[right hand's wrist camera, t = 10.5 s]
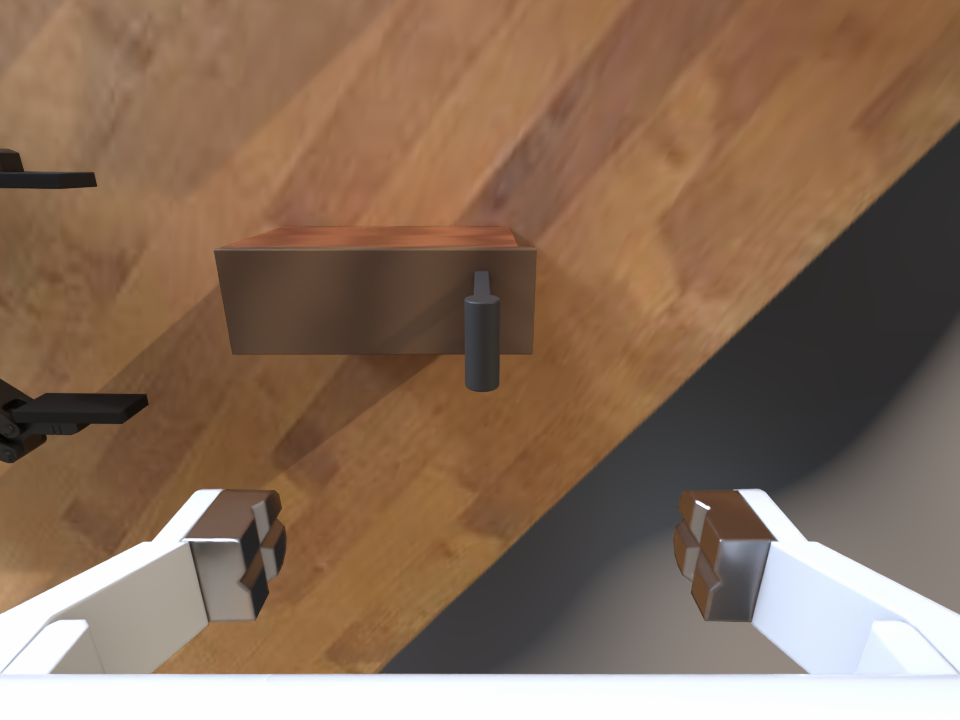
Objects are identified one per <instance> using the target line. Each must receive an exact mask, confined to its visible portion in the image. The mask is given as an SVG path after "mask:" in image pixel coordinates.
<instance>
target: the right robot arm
mask: <svg viewBox="0 0 960 720" xmlns="http://www.w3.org/2000/svg"><path fill="white" fill-rule="evenodd" d="M281 509H282V506H281V502H280V497H279V494H278V493H277V492H276V491H275V490H238V489H226V490H224V489H201V490H198V491H196V492H195V493H194V494H193V495H192V496H191V497H190V498H189V499H188V501H187V502H186V503H185V504H184V505H183V506H182V507H181V509H180V510H179V511H178V512H177V513H176V514H175V516H174V517H173V518H172V519H171V520H170V521H169V522H168V524H167V525H166V526H165V527H164V528H163V529H162V530H161V532H160V533H159V534H158V535H157V536H156V537H155V538H154V540H153V541H152V542H142V543H140V544H138V545H136V546H134V547H132V548H130V549H128V550H126V551H124V552H122V553H120V554H118V555H116V556H115V557H113V558H111V559H109V560H107V561H105V562H103V563H101V564H99V565H97V566H95V567H93V568H91V569H89V570H87V571H85V572H83V573H81V574H79V575H77V576H75V577H73V578H71V579H69V580H67V581H65V582H63V583H61V584H59V585H57V586H55V587H53V588H52V589H50V590H48V591H46V592H44V593H42V594H40V595H38V596H36V597H34V598H32V599H30V600H28V601H26V602H24V603H22V604H20V605H18V606H16V607H14V608H12V609H10V610H8V611H6V612H4V613H2V614H0V720H960V615H959V614H957V613H955V612H953V611H951V610H949V609H947V608H946V607H944V606H941V605H940V604H938V603H936V602H934V601H932V600H930V599H928V598H926V597H924V596H922V595H920V594H918V593H916V592H914V591H912V590H910V589H908V588H906V587H904V586H902V585H900V584H898V583H896V582H894V581H893V580H891V579H889V578H887V577H885V576H883V575H881V574H879V573H877V572H875V571H873V570H871V569H869V568H867V567H865V566H863V565H861V564H859V563H857V562H855V561H853V560H851V559H849V558H847V557H845V556H843V555H841V554H840V553H838V552H836V551H834V550H832V549H830V548H828V547H826V546H824V545H822V544H820V543H818V542H808V541H807V540H806V538H805V537H804V536H803V535H802V534H801V533H800V532H799V530H798V529H797V528H796V527H795V526H794V525H793V524H792V522H791V521H790V520H789V519H788V518H787V517H786V516H785V514H784V513H783V512H782V511H781V510H780V509H779V508H778V506H777V505H776V504H775V503H774V502H773V501H772V499H771V498H770V497H769V496H768V495H767V494H766V493H765V492H764V491H762V490H760V489H738V490H712V491H683V493H682V495H681V497H680V501H679V506H678V509H679V511H680V512H681V514H682V516H683V519H682V520H681V521H680V522H679V523H678V524H677V525H676V526H675V532H674V540H673V541H674V553H675V558H676V561H677V565H678V567H679V569H680V571H681V573H682V575H683V576H684V577H686V578H687V579H689V580H690V581H691V582H693V584H692V590H691V594H692V596H693V598H694V600H695V602H696V604H697V606H698V608H699V610H700V612H701V614H702V616H703V618H704V620H705V621H726V622H752V623H751V625H752V626H754V627H755V628H756V629H757V630H758V631H760V632H761V633H762V634H763V635H764V636H766V637H767V638H768V639H769V640H770V641H771V642H773V643H774V644H775V645H776V646H777V647H778V648H780V649H781V650H782V651H783V652H784V653H785V654H787V655H788V656H789V657H790V658H791V659H793V660H794V661H795V662H796V663H797V664H798V665H800V666H801V667H802V668H803V669H804V670H805V671H807V672H808V673H809V674H151V673H152V672H153V671H155V670H156V669H157V668H158V667H159V666H161V665H162V664H163V663H164V662H165V661H166V660H168V659H169V658H170V657H171V656H172V655H174V654H175V653H176V652H177V651H178V650H179V649H181V648H182V647H183V646H184V645H185V644H187V643H188V642H189V641H190V640H191V639H192V638H194V637H195V636H196V635H197V634H198V633H200V632H201V631H202V630H203V629H204V628H205V627H207V626H208V625H209V623H208V622H233V621H255V620H256V618H257V616H258V614H259V612H260V610H261V608H262V606H263V604H264V602H265V600H266V598H267V596H268V594H269V590H268V584H267V582H269V581H270V580H272V579H273V578H274V577H276V576H277V575H278V573H279V571H280V569H281V567H282V565H283V561H284V557H285V552H286V531H285V526H284V525H283V524H282V523H281V522H280V521H279V520H278V519H277V516H278V514H279V512H280V511H281Z"/></svg>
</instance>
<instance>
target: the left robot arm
mask: <svg viewBox="0 0 960 720" xmlns="http://www.w3.org/2000/svg"><path fill="white" fill-rule="evenodd" d="M82 187H97V183H96V179H95V175H94V172H24V169H23V166H22V162H21V158H20V155H19V153H18V152H15V151H13V150H10V149H0V188H34V189H67V188H82ZM147 405H149V404H148V399H147V395H146V394H87V393H45V394H44V395H42V396H40V397H38V398H36V399H32V398H30V397H29V396H27V395H26V394H24V393H22V392H21V391H19V390H18V389H16V388H14V387H13V386H11V385H10V384H8V383H6V382H5V381H3V380H2V379H0V460H1V461H3V462H6V463H14V462H15V461H17V460H18V459H20V458H22V457H23V456H25V455H26V454H28V453H29V452H31V451H32V450H34V449H36V448H37V447H39V446H40V445H42V444H43V443H45V442H46V440H47V436H46V435H55V434H56V435H62V434H63V435H72V434H75V433H77V432H79V431H81V430H82V429H84V428H85V427H87V426H88V425H90V424H123V423H124V422H126V421H127V420H128V419H130V418H131V417H132V416H134V415H135V414H137V413H138V412H139V411H141V410H142V409H143V408H145V407H146V406H147ZM12 415H13V416H12Z"/></svg>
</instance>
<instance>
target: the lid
mask: <svg viewBox="0 0 960 720" xmlns="http://www.w3.org/2000/svg"><path fill="white" fill-rule="evenodd" d="M536 253H537V250H536V248H535V247H534V246H224V247H221V248H218V249H215V250H214V254H215V259H216V265H217V271H218V276H219V282H220V287H221V293H222V298H223V304H224V310H225V315H226V321H227V326H228V332H229V337H230V343H231V349H232V354H465V385H466V387H467V388H468V389H470V390H473V391H477V392H487V391H492V390H495V389H497V388H498V386H499V365H500V354H533V333H534V306H535V279H536Z"/></svg>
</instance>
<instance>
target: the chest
mask: <svg viewBox="0 0 960 720" xmlns="http://www.w3.org/2000/svg"><path fill="white" fill-rule="evenodd" d="M227 246H518V245H517V243H516V241H515V238H514V236H513V234H512V232H511V230H510V227H509V226H464V227H281V228H278V229H275V230H272V231H269V232H266V233H263V234H260V235H257V236H254V237H251V238H248V239H245V240H242V241H239V242H236V243H233V244H230V245H227Z"/></svg>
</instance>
